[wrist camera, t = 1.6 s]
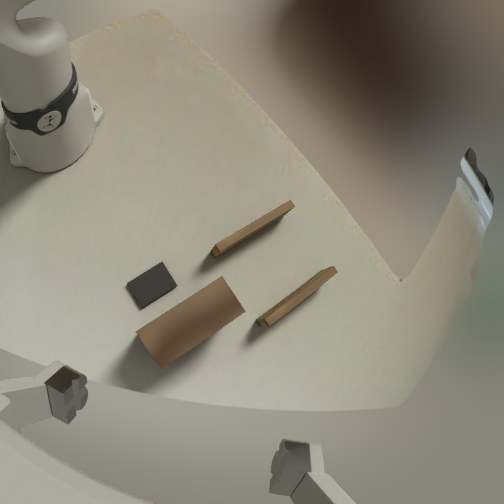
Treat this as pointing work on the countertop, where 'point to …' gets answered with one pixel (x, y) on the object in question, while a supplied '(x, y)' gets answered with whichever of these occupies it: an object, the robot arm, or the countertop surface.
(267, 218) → the channel
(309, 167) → the countertop surface
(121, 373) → the countertop surface
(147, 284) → the mat
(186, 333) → the walnut block
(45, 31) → the robot arm
